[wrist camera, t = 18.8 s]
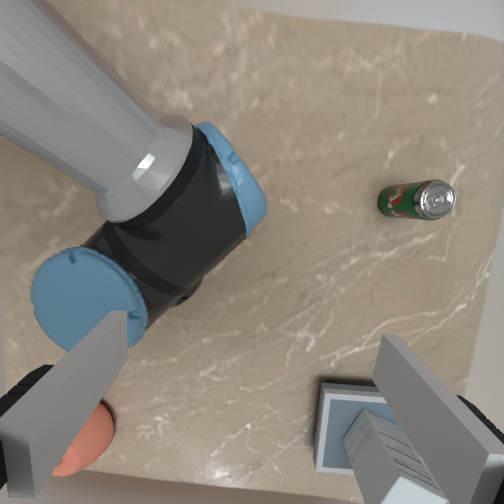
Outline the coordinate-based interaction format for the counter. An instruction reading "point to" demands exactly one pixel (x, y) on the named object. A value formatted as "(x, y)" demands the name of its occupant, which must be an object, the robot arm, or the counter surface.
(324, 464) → the shallow rimmed tray
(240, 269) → the counter surface
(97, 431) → the sugar bowl
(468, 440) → the robot arm
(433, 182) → the soda can
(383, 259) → the counter surface
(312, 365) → the counter surface
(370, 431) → the supplement box
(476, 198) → the counter surface
